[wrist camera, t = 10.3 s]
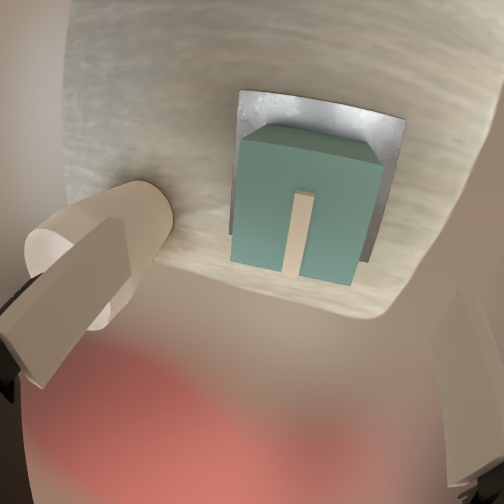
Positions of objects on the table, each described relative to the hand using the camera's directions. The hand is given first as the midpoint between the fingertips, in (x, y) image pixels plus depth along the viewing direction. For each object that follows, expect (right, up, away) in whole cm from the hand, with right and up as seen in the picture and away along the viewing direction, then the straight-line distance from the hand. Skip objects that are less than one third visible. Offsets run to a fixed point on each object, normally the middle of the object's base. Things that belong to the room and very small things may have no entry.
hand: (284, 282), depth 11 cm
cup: (-12, +5, +18) cm, 22 cm away
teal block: (+3, +6, +11) cm, 13 cm away
